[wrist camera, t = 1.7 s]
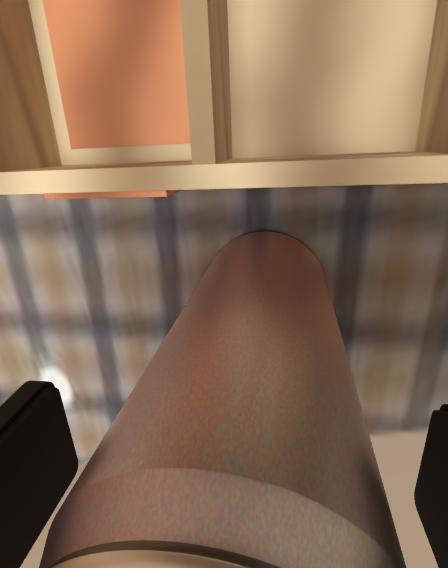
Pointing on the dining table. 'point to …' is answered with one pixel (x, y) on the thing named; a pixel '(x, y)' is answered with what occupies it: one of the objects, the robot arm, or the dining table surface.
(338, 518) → the beverage can
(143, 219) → the dining table surface
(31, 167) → the rack
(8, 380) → the dining table surface
